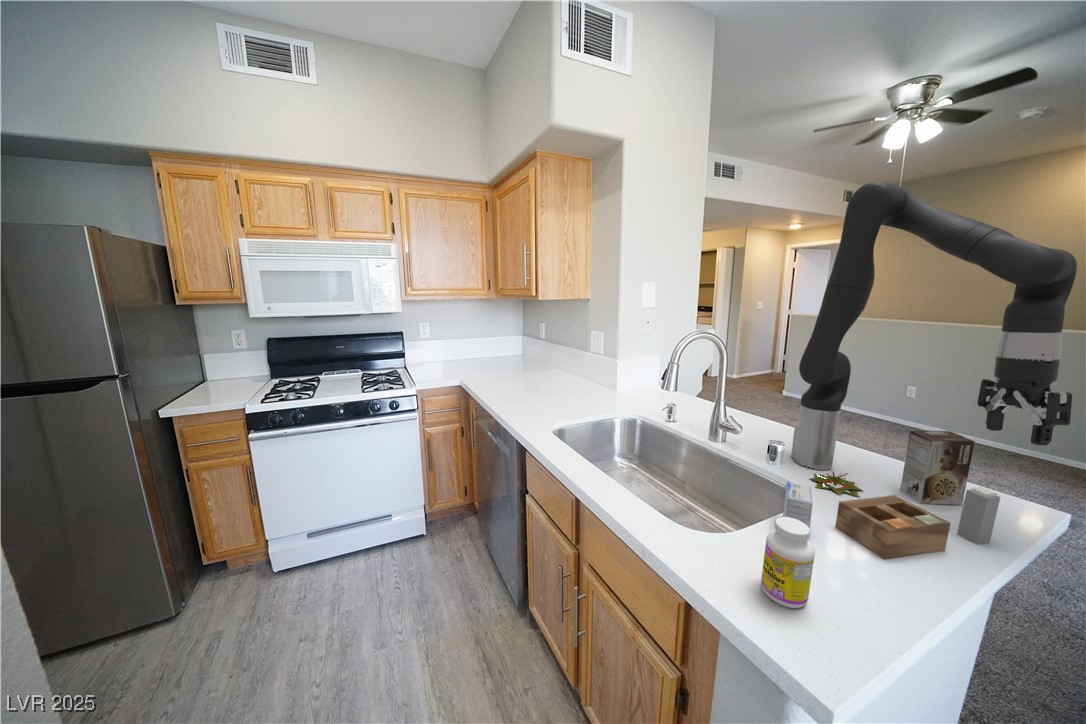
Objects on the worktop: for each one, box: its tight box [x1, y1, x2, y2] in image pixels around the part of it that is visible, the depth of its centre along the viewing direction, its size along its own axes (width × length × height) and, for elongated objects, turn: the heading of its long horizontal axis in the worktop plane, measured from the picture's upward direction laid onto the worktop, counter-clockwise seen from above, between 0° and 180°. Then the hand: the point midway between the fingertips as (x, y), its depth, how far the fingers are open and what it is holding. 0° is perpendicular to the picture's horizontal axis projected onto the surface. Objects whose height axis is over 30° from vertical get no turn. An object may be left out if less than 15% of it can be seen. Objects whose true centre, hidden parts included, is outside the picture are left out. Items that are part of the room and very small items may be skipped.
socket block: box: [834, 494, 952, 560], centre depth 76 cm, size 10×14×6 cm
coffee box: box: [899, 430, 976, 506], centre depth 90 cm, size 9×6×16 cm
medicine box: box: [782, 481, 813, 541], centre depth 79 cm, size 8×4×9 cm, turn 148°
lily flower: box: [811, 467, 864, 498], centre depth 97 cm, size 12×12×5 cm
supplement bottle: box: [760, 516, 816, 609], centre depth 61 cm, size 7×7×13 cm
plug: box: [956, 486, 1001, 545], centre depth 75 cm, size 3×3×11 cm
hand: (1015, 436), depth 74 cm, fingers open, 8 cm apart
